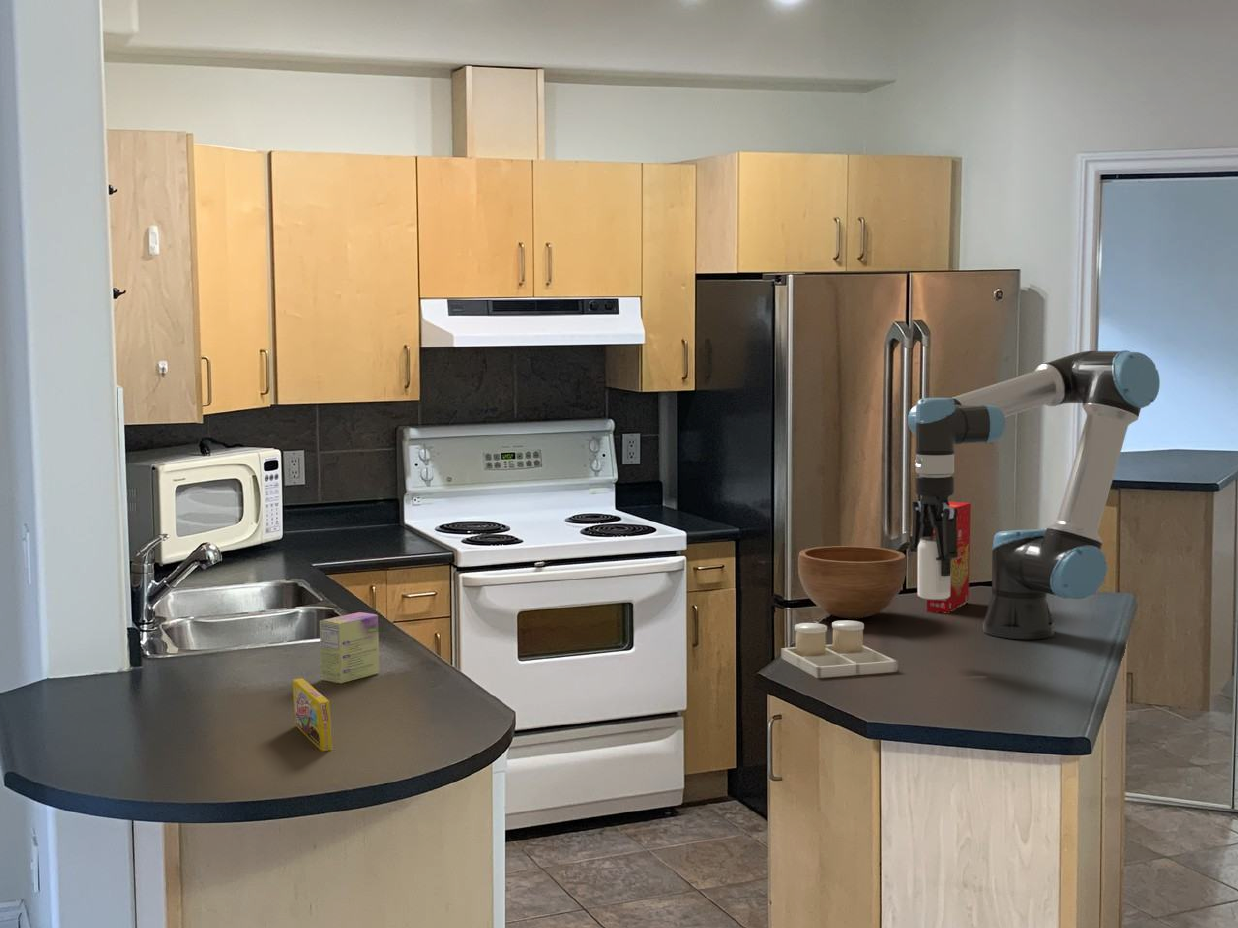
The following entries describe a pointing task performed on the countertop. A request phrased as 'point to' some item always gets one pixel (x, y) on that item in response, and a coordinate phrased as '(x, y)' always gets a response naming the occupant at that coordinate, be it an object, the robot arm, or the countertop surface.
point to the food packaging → (957, 563)
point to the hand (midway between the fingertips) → (934, 588)
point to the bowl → (851, 578)
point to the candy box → (312, 714)
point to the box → (349, 647)
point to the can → (928, 570)
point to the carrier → (841, 662)
